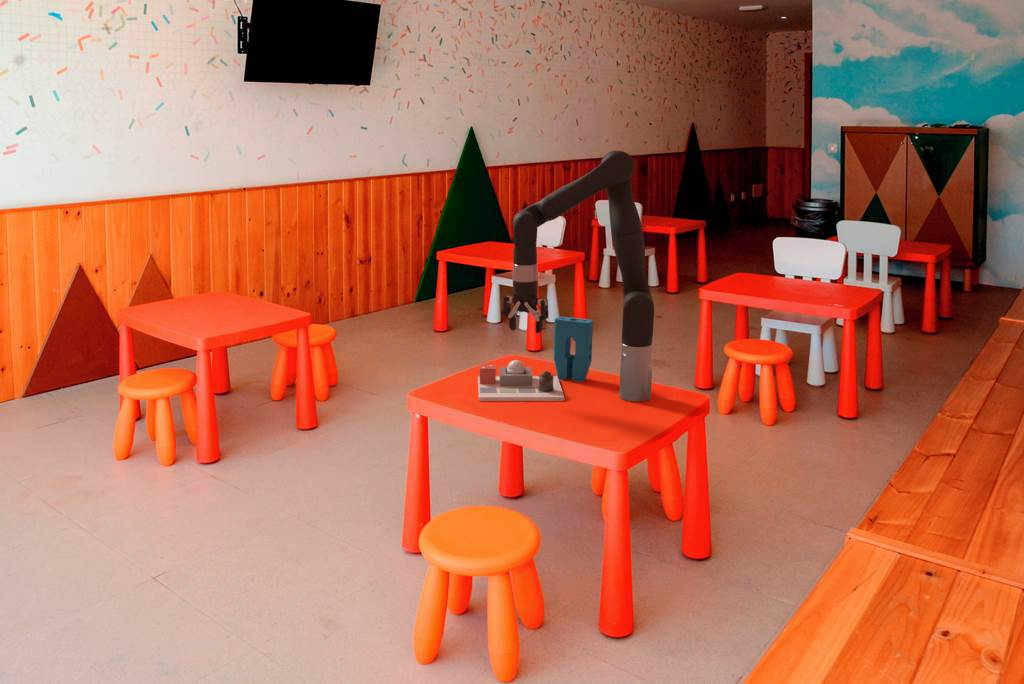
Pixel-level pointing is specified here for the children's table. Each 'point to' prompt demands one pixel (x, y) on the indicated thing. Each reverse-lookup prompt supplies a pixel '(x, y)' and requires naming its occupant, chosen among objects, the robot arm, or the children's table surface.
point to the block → (563, 359)
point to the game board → (519, 391)
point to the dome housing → (515, 378)
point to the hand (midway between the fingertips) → (525, 331)
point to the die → (487, 374)
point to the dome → (515, 367)
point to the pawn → (546, 382)
